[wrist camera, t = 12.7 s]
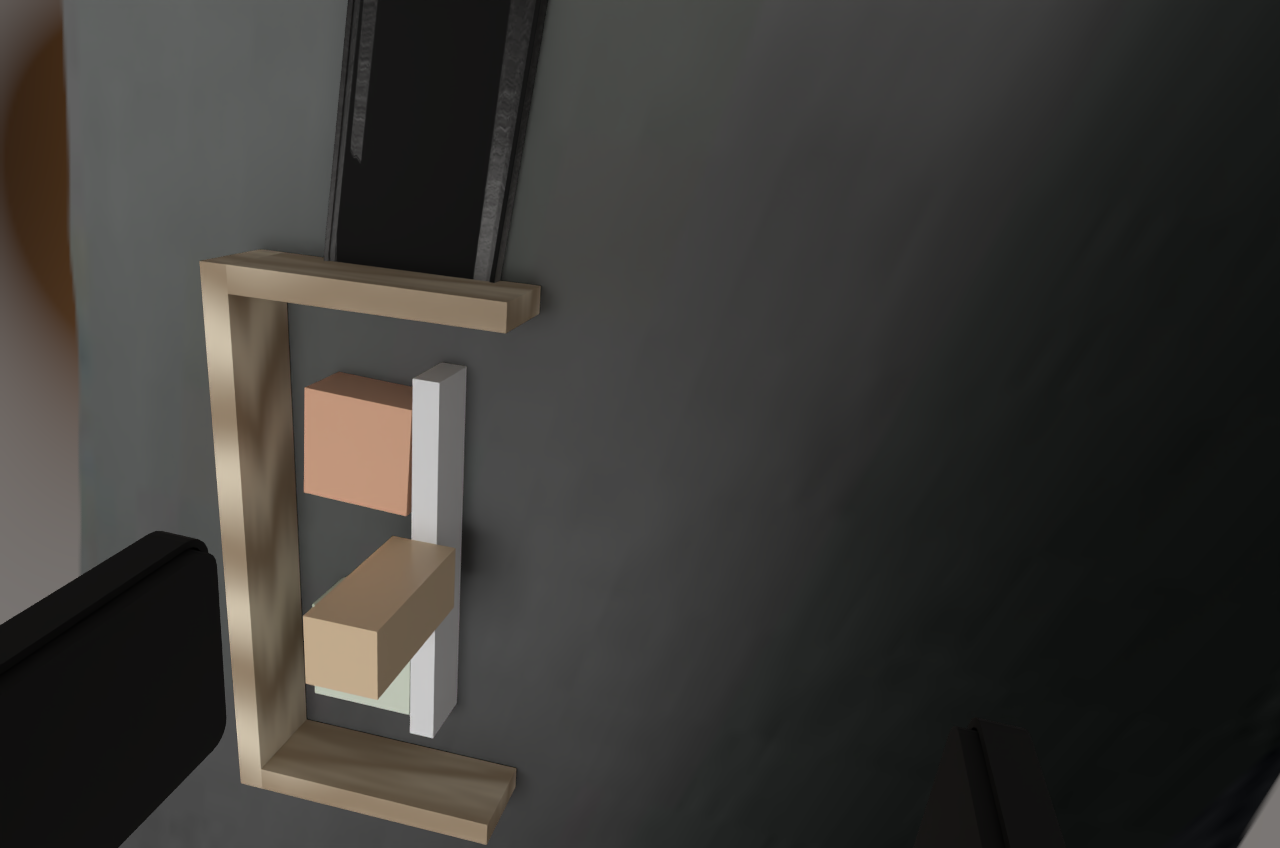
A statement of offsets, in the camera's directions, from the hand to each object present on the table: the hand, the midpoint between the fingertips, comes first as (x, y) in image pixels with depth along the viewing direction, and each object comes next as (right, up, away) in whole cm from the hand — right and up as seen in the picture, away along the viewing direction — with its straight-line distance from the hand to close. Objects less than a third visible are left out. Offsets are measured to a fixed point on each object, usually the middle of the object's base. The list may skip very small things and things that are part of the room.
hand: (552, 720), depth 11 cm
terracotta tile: (-11, +3, +30) cm, 32 cm away
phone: (-7, +16, +26) cm, 31 cm away
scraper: (-8, -2, +31) cm, 32 cm away
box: (-10, -2, +31) cm, 33 cm away
